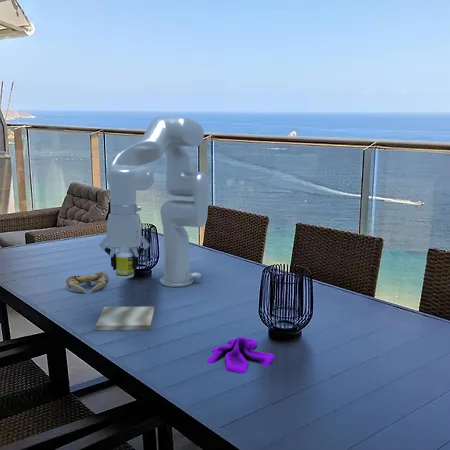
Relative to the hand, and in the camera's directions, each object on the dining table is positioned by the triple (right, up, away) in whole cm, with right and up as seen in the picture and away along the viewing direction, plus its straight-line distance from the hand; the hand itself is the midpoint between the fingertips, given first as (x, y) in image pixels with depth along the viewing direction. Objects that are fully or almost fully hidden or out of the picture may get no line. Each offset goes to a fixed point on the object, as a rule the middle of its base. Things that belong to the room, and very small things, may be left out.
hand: (125, 268), depth 163 cm
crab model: (-20, -10, +34) cm, 41 cm away
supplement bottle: (0, -3, +1) cm, 3 cm away
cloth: (+33, -22, -21) cm, 45 cm away
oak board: (0, -16, +3) cm, 17 cm away
